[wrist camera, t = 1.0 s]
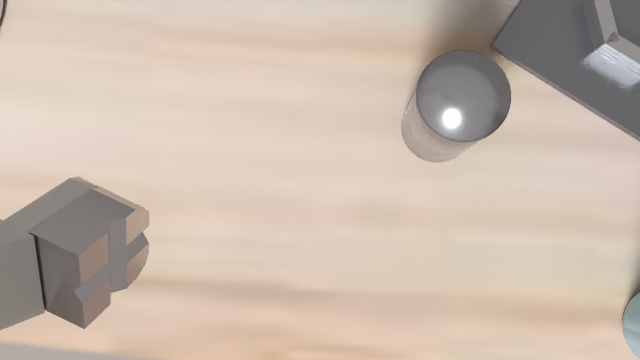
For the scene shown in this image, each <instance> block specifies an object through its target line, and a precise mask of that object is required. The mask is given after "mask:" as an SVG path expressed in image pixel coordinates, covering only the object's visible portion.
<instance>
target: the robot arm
mask: <svg viewBox="0 0 640 360" xmlns="http://www.w3.org/2000/svg"><path fill="white" fill-rule="evenodd" d="M2 9H3V0H0V18H1V14H2ZM148 226H149V211H147V210H146V209H145V208H143V207H141V206H139V205H137V204H135V203H133V202H131V201H129V200H127V199H125V198H122V197H120V196H118V195H116V194H114V193H112V192H110V191H108V190H106V189H104V188H102V187H99V186H97V185H95V184H93V183H90V182H88V181H86V180H84V179H82V178H80V177H75V178H69V179H68V180H66V181H64V182H63V183H61V184H60V185H58V186H57V187H55V188H54V189H52V190H50V191H49V192H47V193H46V194H44V195H43V196H41V197H39V198H38V199H36V200H35V201H33V202H32V203H30V204H28V205H27V206H25V207H24V208H22V209H21V210H19V211H18V212H16V213H14V214H13V215H11V216H10V217H8V218H7V219H5V220H1V219H0V330H2V329H4V328H7V327H9V326H12V325H15V324H17V323H20V322H22V321H25V320H27V319H30V318H32V317H35V316H38V315H40V314H43V313H44V312H45V310H46V311H48V312H50V313H52V314H54V315H56V316H58V317H61V318H63V319H65V320H67V321H69V322H71V323H73V324H75V325H77V326H79V327H81V328H83V329H85V328H86V327H87V326H88V325H89V324H90V323H91V322H92V321H93V320H95V319H96V318H97V317H98V316H99V315H100V314H101V313H102V312H103V311H104V310H105V309H106V308H107V307H108V306H109V305H110V303H111V293H112V292H116V291H119V290H123V289H126V288H128V287H129V286H130V285H131V284H132V282H133V281H134V280H135V279H136V278H137V277H138V276H139V274H140V272H141V271H142V269H143V267H144V266H145V263H146V260H147V257H148V253H149V243H148V241H147V239H146V237H145V235H144V234H143V232H142V231H144V230H145V229H146V228H147V227H148Z"/></svg>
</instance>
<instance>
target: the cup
mask: <svg viewBox="0 0 640 360" xmlns="http://www.w3.org/2000/svg"><path fill="white" fill-rule="evenodd" d="M623 333H624V337H625V339H626V341H627V343H628V345H629V347H630V348H631V350H632V352H633V353H634V354H635V355H636V356H637V357H638V358H639V359H640V292H639V293H638V294H637V295H636V296H634V297H633V298H632V299H631V300H630V302H629V303H628V305H627V307H626V310H625V312H624V316H623Z"/></svg>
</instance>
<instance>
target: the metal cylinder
mask: <svg viewBox="0 0 640 360" xmlns="http://www.w3.org/2000/svg"><path fill="white" fill-rule="evenodd" d="M510 103H511V90H510V85H509V82H508V79H507V77H506V75H505V73H504V72H503V70H502V69H501V68H500V67H499V65H498V64H497V63H496V62H494V61H493V60H492V59H490V58H489V57H487V56H485V55H483V54H481V53H478V52H474V51H468V50H457V51H452V52H448V53H445V54H443V55H441V56H439V57H437V58H436V59H434V60H433V61H432V62H431V63H430V64H429V65H428V66H427V67H426V68H425V69H424V71H423V73H422V74H421V76H420V78H419V80H418V83H417V86H416V89H415V93H414V95H413V97H412V99H411V101H410V103H409V105H408V107H407V109H406V111H405V113H404V116H403V119H402V135H403V139H404V141H405V143H406V145H407V147H408V148H409V149H410V150H411V151H412V152H413V153H414V154H415V155H416V156H418V157H419V158H421V159H423V160H426V161H430V162H445V161H449V160H451V159H453V158H455V157H457V156H458V155H460V154H461V153H462V152H464V151H465V150H467V149H468V148H469V147H471V146H472V145H473V144H475V143H476V142H478V141H480V140H482V139H484V138H486V137H487V136H489V135H490V134H492V133H493V132H494V131H496V130H497V129H498V128H499V127H500V125H501V124H502V123H503V122H504V120H505V118H506V116H507V114H508V111H509V108H510Z"/></svg>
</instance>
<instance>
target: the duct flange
mask: <svg viewBox="0 0 640 360" xmlns="http://www.w3.org/2000/svg"><path fill="white" fill-rule="evenodd" d="M491 49H493V50H494V51H496V52H497V53H499V54H501V55H502V56H504V57H505V58H507V59H509V60H510V61H512V62H513V63H515V64H517V65H518V66H520V67H521V68H523V69H525V70H526V71H528V72H529V73H531V74H533V75H534V76H536V77H538V78H539V79H541V80H542V81H544V82H546V83H547V84H549V85H550V86H552V87H554V88H555V89H557V90H558V91H560V92H562V93H563V94H565V95H566V96H568V97H570V98H571V99H573V100H574V101H576V102H578V103H579V104H581V105H582V106H584V107H586V108H587V109H589V110H590V111H592V112H594V113H595V114H597V115H598V116H600V117H602V118H603V119H605V120H606V121H608V122H610V123H611V124H613V125H614V126H616V127H618V128H619V129H621V130H622V131H624V132H626V133H627V134H629V135H630V136H632V137H634V138H635V139H637V140H638V141H640V0H522V2H521V3H520V5H519V6H518V7H517V9H516V10H515V12H514V13H513V15H512V16H511V18H510V19H509V21H508V22H507V24H506V25H505V27H504V28H503V30H502V31H501V33H500V34H499V36H498V37H497V39H496V40H495V42H494V43H493V45H492V46H491Z"/></svg>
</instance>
